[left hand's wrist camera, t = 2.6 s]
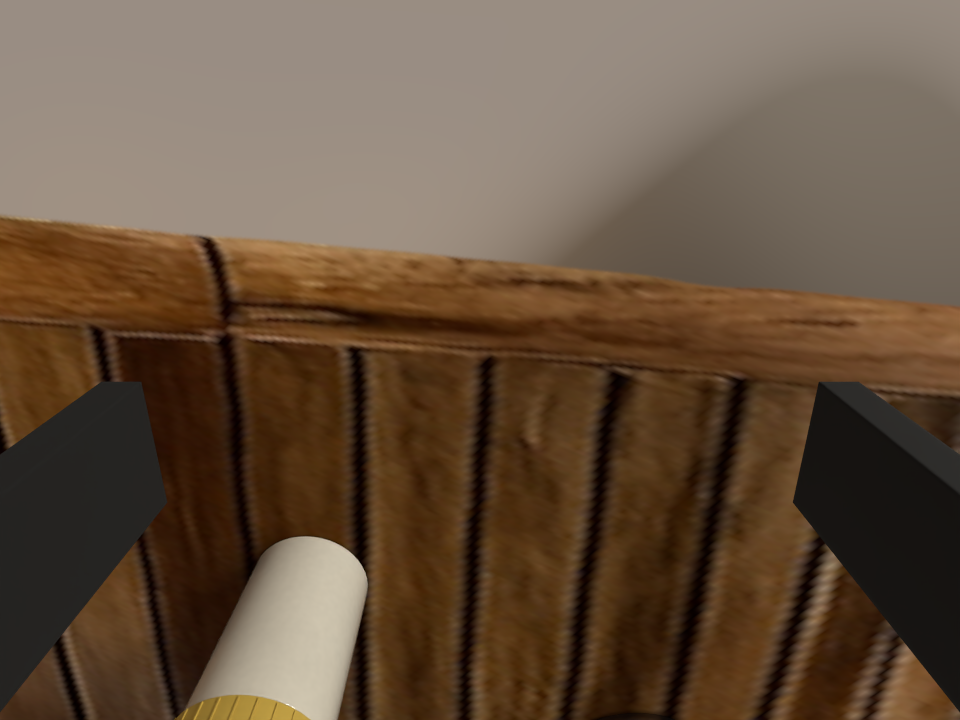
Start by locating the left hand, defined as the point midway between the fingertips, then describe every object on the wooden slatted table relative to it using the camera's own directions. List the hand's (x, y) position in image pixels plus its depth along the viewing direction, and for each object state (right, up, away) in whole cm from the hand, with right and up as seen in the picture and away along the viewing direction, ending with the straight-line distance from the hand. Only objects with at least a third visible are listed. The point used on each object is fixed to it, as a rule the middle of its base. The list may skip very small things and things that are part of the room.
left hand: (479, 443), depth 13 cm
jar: (-13, -16, +36) cm, 42 cm away
